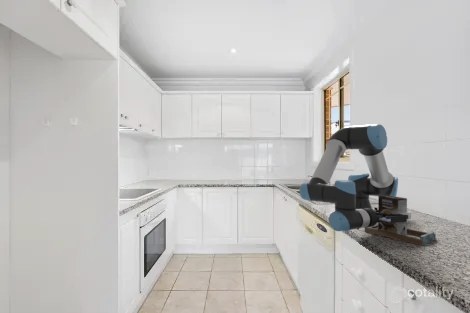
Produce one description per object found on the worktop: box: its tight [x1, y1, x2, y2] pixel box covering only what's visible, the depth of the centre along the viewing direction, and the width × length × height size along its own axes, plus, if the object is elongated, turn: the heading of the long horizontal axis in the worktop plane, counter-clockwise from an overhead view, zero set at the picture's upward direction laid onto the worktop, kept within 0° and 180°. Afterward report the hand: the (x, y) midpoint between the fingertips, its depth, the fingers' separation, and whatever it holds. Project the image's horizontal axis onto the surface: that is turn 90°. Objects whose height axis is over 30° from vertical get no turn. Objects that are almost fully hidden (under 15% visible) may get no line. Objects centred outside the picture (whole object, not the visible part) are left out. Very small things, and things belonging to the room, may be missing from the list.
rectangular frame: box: [364, 224, 437, 246], centre depth 110 cm, size 13×22×3 cm, turn 34°
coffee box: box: [377, 195, 408, 236], centre depth 112 cm, size 9×6×16 cm
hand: (399, 213), depth 114 cm, fingers closed on coffee box, 9 cm apart
